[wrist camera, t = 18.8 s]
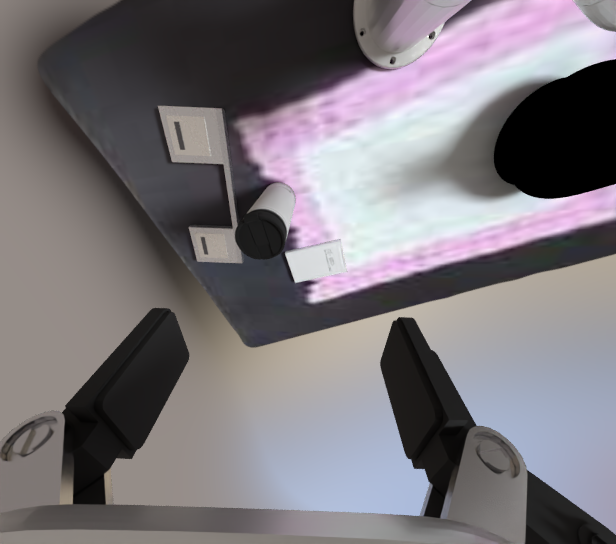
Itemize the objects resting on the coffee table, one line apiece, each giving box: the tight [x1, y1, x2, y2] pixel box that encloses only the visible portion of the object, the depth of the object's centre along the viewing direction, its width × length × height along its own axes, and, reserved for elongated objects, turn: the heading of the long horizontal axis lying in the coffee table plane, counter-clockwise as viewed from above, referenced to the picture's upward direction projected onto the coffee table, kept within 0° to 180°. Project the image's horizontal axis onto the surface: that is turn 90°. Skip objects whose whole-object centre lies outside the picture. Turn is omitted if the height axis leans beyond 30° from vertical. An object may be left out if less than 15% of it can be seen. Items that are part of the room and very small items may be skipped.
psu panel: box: [158, 106, 244, 263], centre depth 44 cm, size 28×10×2 cm, turn 178°
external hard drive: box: [285, 239, 347, 283], centre depth 52 cm, size 2×8×12 cm
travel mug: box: [235, 182, 296, 259], centre depth 36 cm, size 6×7×20 cm
